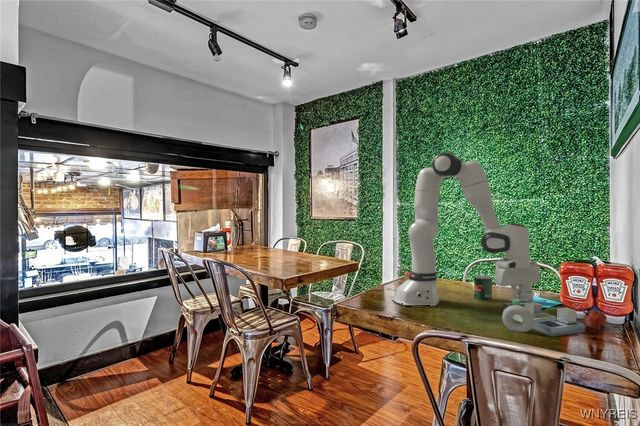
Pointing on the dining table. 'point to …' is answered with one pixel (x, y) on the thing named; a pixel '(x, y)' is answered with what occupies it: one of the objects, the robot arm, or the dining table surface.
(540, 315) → the billet
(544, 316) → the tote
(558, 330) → the pallet
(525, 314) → the donut
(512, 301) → the button
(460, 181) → the robot arm
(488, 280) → the canned tomato
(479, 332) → the dining table surface
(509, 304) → the console
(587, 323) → the pomegranate
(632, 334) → the dining table surface
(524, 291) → the plastic bottle
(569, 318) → the block
